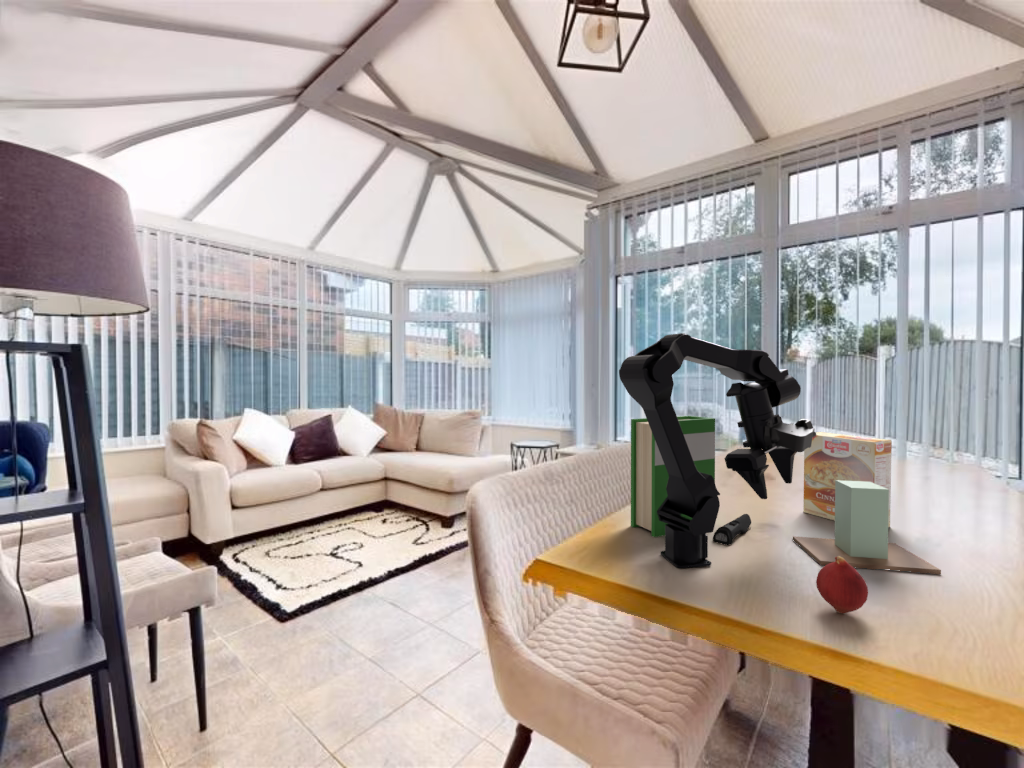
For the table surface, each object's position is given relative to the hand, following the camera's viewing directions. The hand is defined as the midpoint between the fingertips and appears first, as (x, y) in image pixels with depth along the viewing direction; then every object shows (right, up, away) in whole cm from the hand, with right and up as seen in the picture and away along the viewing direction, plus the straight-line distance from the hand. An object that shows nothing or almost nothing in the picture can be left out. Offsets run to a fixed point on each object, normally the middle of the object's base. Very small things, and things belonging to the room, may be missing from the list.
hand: (776, 490), depth 86 cm
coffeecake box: (+26, -11, +16) cm, 32 cm away
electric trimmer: (-5, -11, +7) cm, 14 cm away
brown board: (+13, -11, -4) cm, 18 cm away
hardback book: (-16, -11, +13) cm, 23 cm away
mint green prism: (+13, -10, -4) cm, 17 cm away
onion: (-5, -12, -24) cm, 27 cm away
